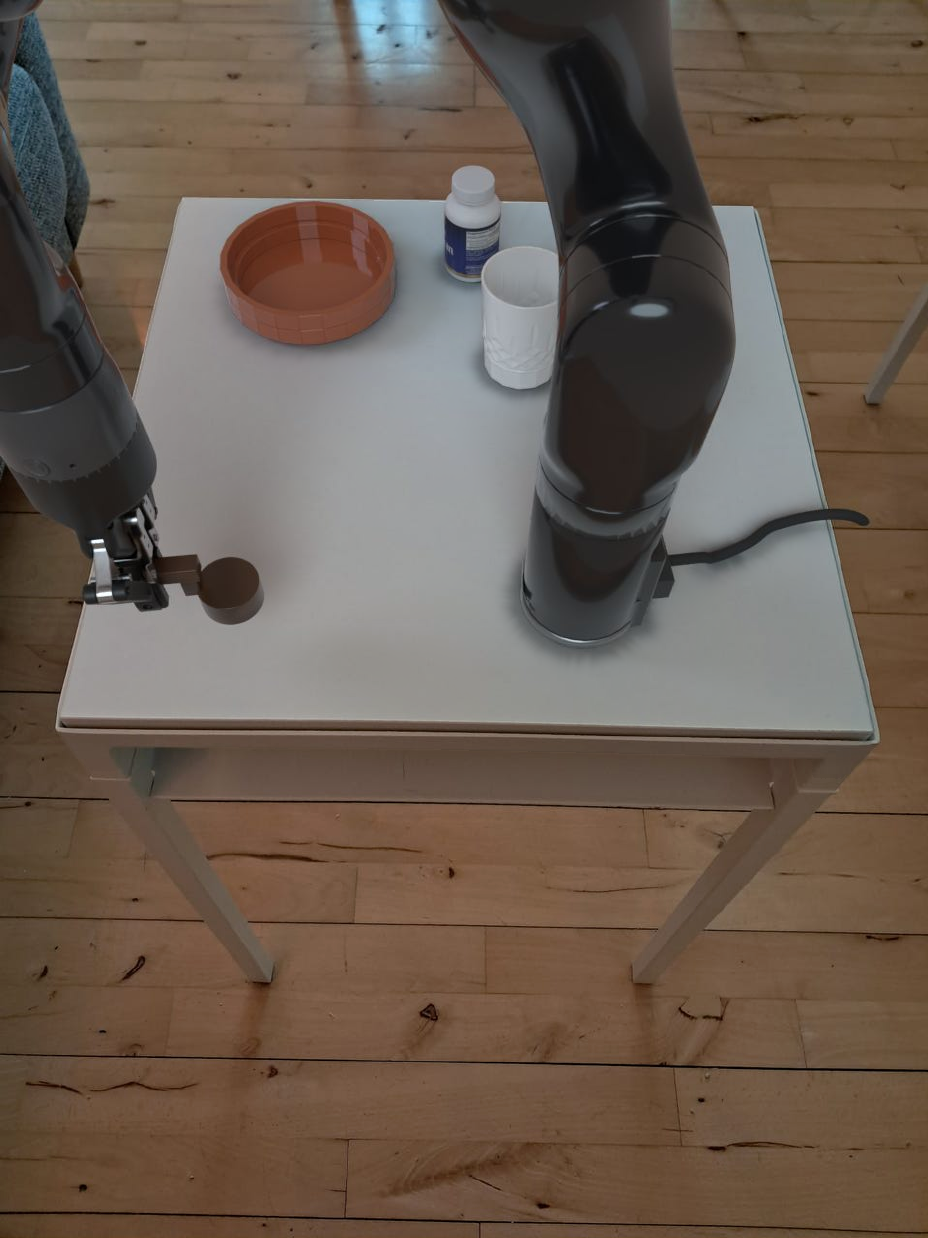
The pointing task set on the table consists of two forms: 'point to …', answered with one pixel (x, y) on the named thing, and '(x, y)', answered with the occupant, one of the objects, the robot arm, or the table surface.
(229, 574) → the brown cylinder with tab
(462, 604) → the table surface
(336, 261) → the bowl
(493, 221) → the pill bottle
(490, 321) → the white cup
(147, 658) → the table surface
